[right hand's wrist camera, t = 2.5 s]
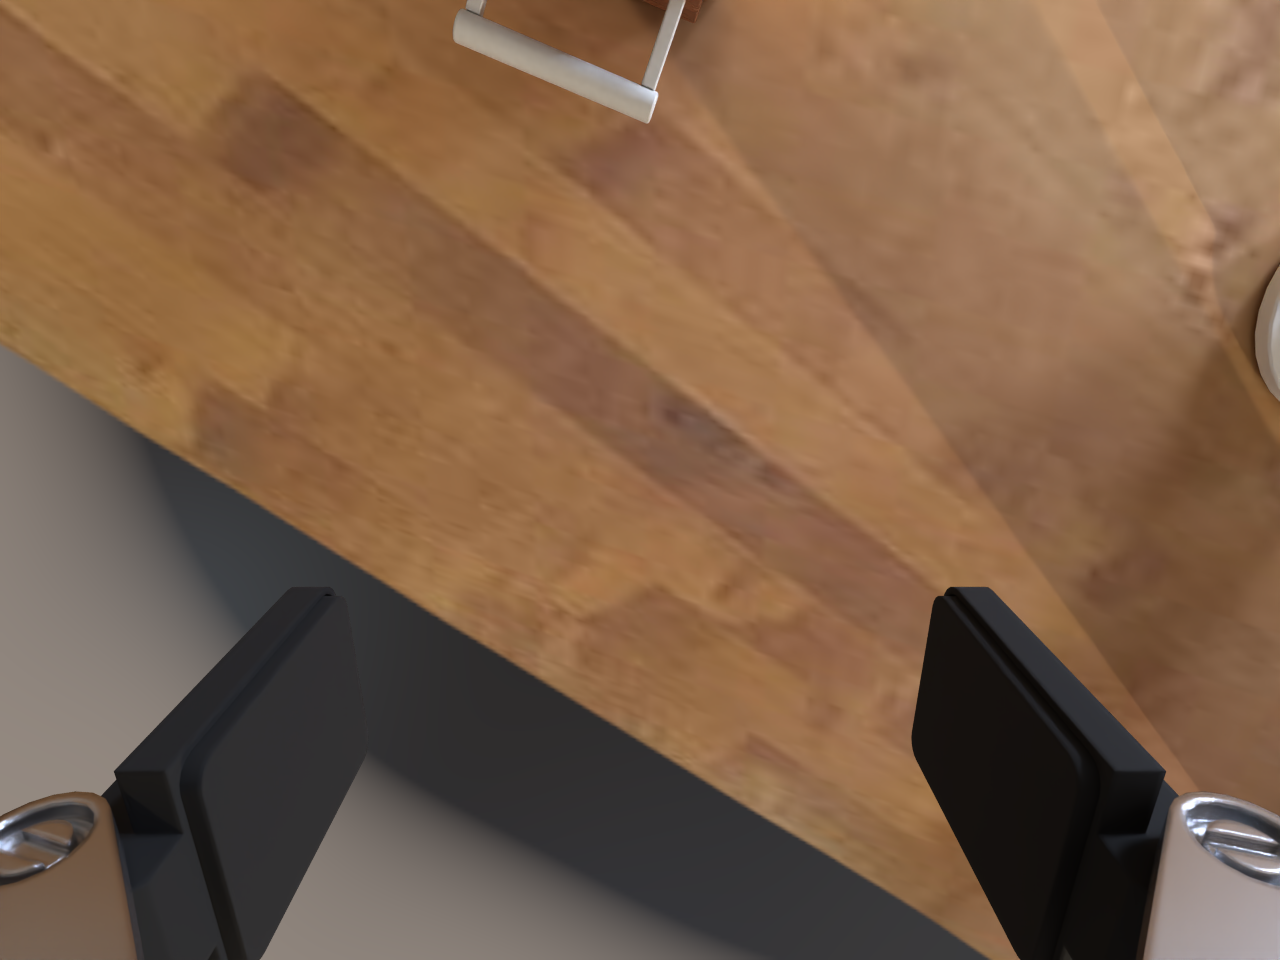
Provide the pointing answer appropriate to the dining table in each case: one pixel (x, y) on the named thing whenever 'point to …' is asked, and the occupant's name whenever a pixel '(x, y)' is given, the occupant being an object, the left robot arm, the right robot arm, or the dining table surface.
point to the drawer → (570, 69)
